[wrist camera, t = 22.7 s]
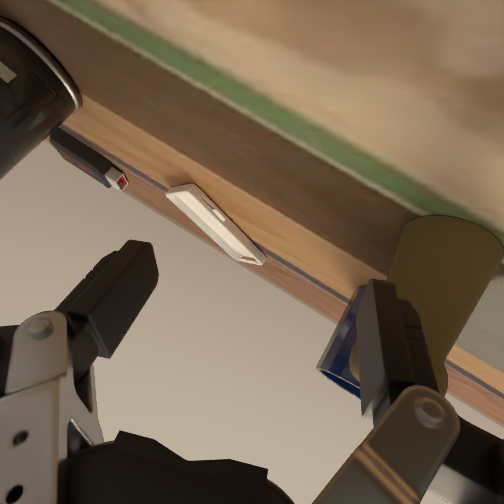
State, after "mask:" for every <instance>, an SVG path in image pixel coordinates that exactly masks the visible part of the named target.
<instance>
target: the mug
mask: <svg viewBox="0 0 504 504" xmlns="http://www.w3.org/2000/svg"><path fill="white" fill-rule="evenodd" d="M366 287H367V286H360V287H358V288H357V289H356V290H355V292H354V293H353V295H352V297H351V299H350V301H349V303H348V305H347V307H346V309H345V311H344V313H343V315H342V317H341V319H340V321H339V323H338V325H337V327H336V329H335V331H334V333H333V335H332V337H331V339H330V341H329V343H328V345H327V347H326V349H325V351H324V353H323V355H322V357H321V359H320V360H319V362H318V365H317V367H316V369H317V370H318V371H319V372H320V373H321V374H322V375H324V376H325V377H326V378H328V379H329V380H331V381H332V382H333V383H335V384H336V385H338V386H340V387H341V388H343V389H344V390H346V391H347V392H349V393H351V394H352V395H354V396H356V397H357V398H359V399H361V395H360V382H359V381H358V380H357V379H356V378H355V377H354V376H353V374H352V372H351V371H350V363H349V360H350V354H351V349H352V347H353V345H354V343H355V341H356V340H357V329H356V319H357V312H358V308H359V305H360V303H361V300H362V297H363V295H364V292H365V289H366Z"/></svg>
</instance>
